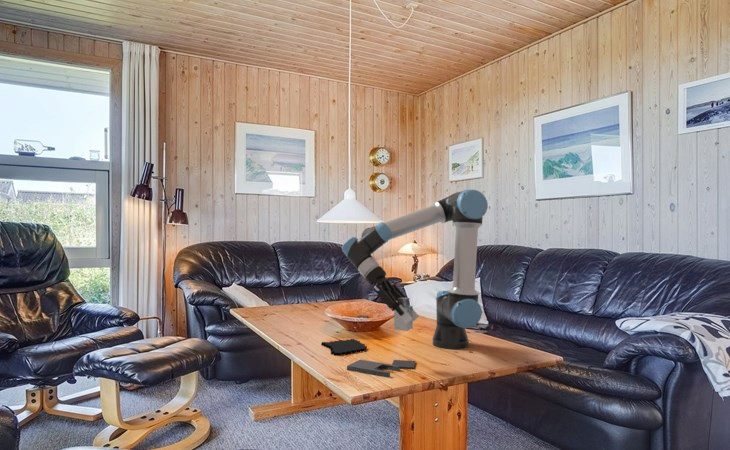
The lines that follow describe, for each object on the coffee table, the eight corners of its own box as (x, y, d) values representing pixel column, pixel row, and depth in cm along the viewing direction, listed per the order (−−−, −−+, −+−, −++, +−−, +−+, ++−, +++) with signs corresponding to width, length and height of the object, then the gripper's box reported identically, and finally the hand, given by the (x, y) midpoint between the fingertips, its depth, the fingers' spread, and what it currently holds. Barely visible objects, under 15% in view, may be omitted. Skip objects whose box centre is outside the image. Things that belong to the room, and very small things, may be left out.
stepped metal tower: (394, 329, 162) (394, 298, 162) (400, 326, 166) (400, 296, 166) (407, 330, 159) (406, 299, 159) (412, 328, 163) (412, 297, 164)
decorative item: (327, 337, 200) (371, 339, 196) (327, 341, 200) (371, 343, 196) (311, 351, 178) (360, 354, 174) (311, 355, 178) (360, 358, 174)
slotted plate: (347, 369, 157) (347, 365, 157) (360, 363, 165) (360, 359, 165) (388, 377, 149) (388, 372, 149) (399, 369, 157) (399, 365, 157)
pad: (415, 362, 166) (415, 360, 166) (413, 369, 158) (413, 367, 158) (393, 361, 167) (393, 359, 167) (391, 367, 159) (391, 366, 159)
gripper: (377, 276, 178) (416, 322, 170) (353, 281, 163) (395, 331, 154) (389, 263, 176) (429, 309, 167) (366, 266, 160) (409, 317, 152)
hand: (413, 320), depth 161 cm, fingers closed on stepped metal tower, 5 cm apart
